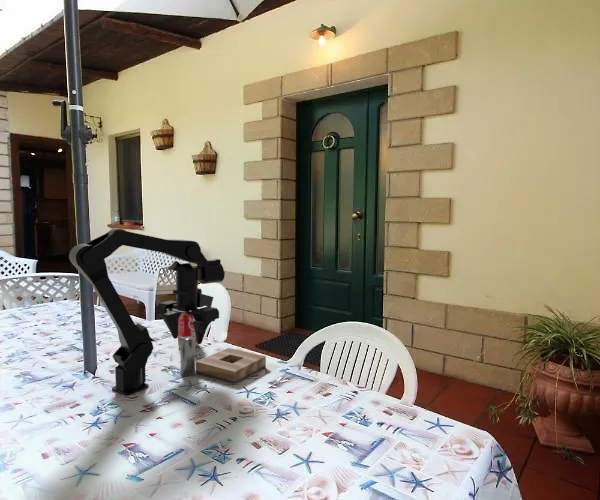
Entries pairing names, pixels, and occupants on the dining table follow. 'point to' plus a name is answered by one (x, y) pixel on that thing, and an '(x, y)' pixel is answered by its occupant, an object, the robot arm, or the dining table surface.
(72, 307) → the dining table surface
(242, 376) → the walnut block
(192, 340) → the metal pin
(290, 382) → the dining table surface
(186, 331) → the soda can
